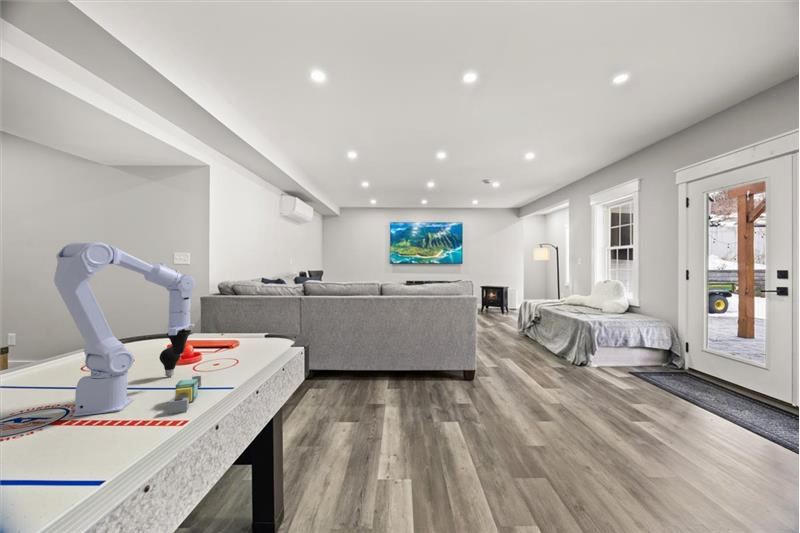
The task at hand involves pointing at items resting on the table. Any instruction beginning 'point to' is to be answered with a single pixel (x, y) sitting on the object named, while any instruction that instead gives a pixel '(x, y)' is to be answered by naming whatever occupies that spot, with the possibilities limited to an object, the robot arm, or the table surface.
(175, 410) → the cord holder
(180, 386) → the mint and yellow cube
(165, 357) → the light bulb
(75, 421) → the table surface
